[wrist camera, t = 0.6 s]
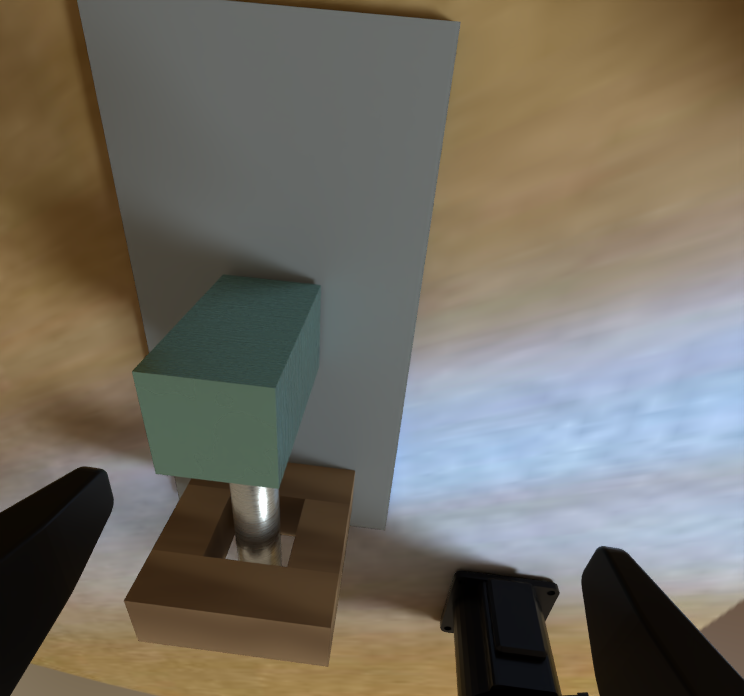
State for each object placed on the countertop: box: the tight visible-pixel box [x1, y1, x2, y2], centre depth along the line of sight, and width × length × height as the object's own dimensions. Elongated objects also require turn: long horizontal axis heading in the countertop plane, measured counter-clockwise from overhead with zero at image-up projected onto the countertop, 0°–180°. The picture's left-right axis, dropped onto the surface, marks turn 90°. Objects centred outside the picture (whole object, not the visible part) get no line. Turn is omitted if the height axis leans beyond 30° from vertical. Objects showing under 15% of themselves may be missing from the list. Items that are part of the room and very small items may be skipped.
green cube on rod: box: [132, 274, 321, 566], centre depth 20 cm, size 17×4×7 cm, turn 175°
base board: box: [77, 0, 460, 530], centre depth 21 cm, size 24×12×1 cm, turn 175°
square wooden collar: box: [124, 462, 355, 667], centre depth 22 cm, size 3×8×8 cm, turn 85°
